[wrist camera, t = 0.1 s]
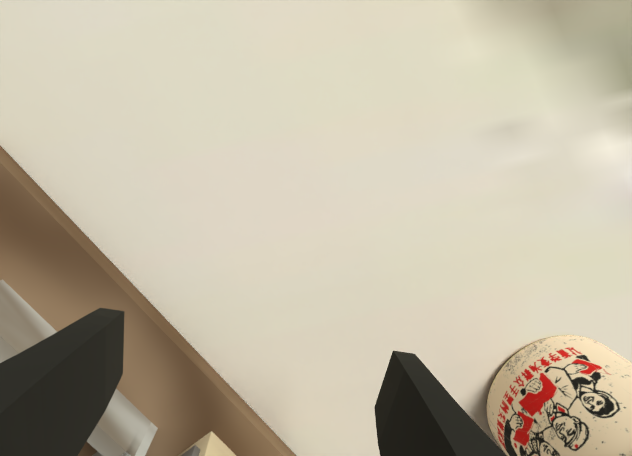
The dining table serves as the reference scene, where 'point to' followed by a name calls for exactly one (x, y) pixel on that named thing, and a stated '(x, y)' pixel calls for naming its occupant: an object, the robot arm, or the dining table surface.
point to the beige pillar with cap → (208, 447)
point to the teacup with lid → (563, 400)
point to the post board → (139, 335)
